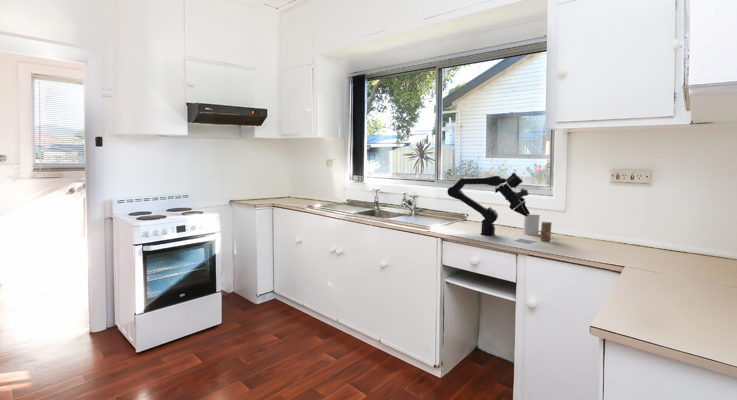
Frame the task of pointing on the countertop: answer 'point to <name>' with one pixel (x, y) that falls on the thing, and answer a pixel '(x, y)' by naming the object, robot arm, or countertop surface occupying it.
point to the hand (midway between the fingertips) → (528, 215)
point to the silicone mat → (525, 241)
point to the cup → (531, 224)
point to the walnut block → (546, 231)
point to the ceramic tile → (546, 242)
